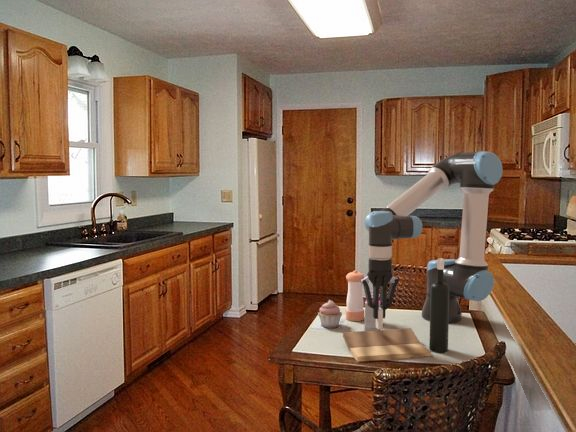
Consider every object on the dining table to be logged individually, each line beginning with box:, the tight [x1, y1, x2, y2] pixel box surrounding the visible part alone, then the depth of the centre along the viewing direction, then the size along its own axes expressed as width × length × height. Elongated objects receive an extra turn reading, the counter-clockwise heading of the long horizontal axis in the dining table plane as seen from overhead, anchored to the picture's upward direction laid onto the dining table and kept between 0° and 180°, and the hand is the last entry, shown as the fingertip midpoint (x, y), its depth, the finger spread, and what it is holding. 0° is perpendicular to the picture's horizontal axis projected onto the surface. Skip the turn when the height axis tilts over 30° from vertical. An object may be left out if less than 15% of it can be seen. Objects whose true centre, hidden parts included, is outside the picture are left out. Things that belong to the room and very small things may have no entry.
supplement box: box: [363, 299, 381, 331], centre depth 185 cm, size 6×6×12 cm
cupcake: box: [317, 299, 343, 329], centre depth 193 cm, size 9×9×10 cm
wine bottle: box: [428, 257, 449, 354], centre depth 166 cm, size 6×6×30 cm
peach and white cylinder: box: [345, 270, 365, 322], centre depth 202 cm, size 7×7×19 cm
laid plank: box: [349, 342, 432, 363], centre depth 163 cm, size 24×8×2 cm, turn 100°
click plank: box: [342, 327, 421, 352], centre depth 171 cm, size 24×8×2 cm, turn 100°
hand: (379, 327), depth 172 cm, fingers closed
